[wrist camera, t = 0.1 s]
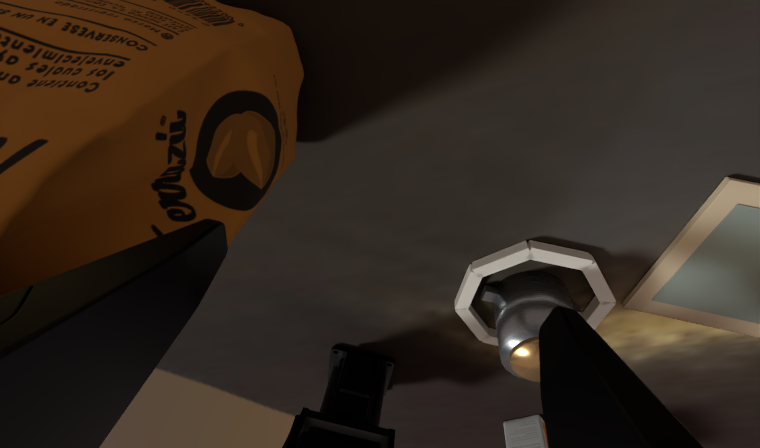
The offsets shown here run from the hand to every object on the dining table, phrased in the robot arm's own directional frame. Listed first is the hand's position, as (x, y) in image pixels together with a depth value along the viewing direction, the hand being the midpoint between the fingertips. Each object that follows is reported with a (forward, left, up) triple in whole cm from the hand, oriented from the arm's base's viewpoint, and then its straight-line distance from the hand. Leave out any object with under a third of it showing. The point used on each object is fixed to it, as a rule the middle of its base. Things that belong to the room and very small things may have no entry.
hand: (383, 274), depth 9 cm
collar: (-13, -12, -15) cm, 23 cm away
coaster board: (-6, -24, -15) cm, 29 cm away
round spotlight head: (-13, -12, -15) cm, 23 cm away
